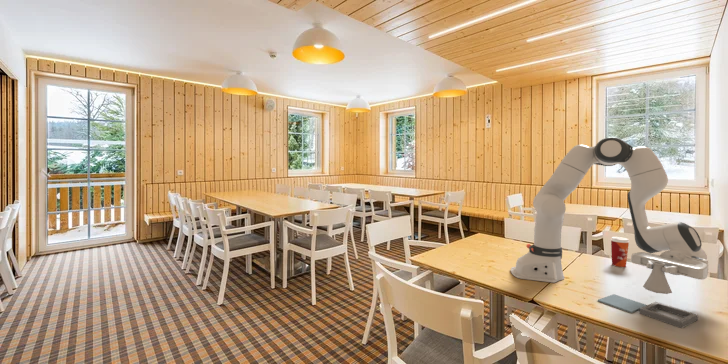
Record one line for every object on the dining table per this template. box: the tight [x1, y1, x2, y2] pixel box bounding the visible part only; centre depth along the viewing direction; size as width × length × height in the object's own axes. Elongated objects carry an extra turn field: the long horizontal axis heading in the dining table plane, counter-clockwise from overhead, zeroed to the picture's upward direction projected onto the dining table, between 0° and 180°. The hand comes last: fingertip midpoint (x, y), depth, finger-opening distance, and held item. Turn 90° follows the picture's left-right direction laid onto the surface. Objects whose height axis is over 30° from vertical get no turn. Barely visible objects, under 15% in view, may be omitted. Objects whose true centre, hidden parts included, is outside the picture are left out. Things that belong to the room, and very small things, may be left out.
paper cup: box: [609, 236, 630, 268], centre depth 165 cm, size 8×8×14 cm
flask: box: [642, 261, 673, 295], centre depth 114 cm, size 7×7×10 cm
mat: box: [597, 293, 648, 314], centre depth 123 cm, size 11×11×1 cm
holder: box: [639, 301, 699, 329], centre depth 113 cm, size 11×11×2 cm
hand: (656, 268), depth 113 cm, fingers closed on flask, 3 cm apart
